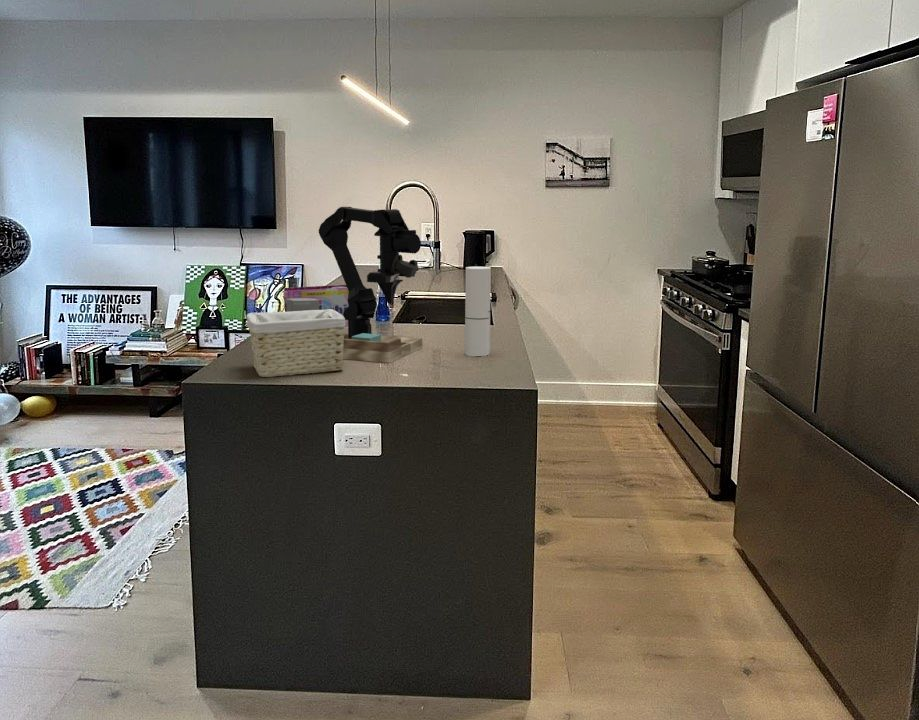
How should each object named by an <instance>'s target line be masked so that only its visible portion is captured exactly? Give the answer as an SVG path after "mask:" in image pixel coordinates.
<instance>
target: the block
mask: <svg viewBox="0 0 919 720" xmlns="http://www.w3.org/2000/svg"><path fill="white" fill-rule="evenodd" d="M381 335H382V334H377V333H371V334H367V333H362V334H359V335H355V336H352V339H354V340H366V341H378V342H381Z"/></svg>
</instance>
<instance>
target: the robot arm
mask: <svg viewBox="0 0 919 720" xmlns="http://www.w3.org/2000/svg"><path fill="white" fill-rule="evenodd" d="M352 221H354V222H360V223H365V224H366V223H367V224H371V225H372V226H373V227H375V228H378V229H377V231H376V232H374V235H373V236H375V237H379V254H378V255H377V256H376V257H377V259H378V260H379V268H377V271H371V272H369V273H367V275H366V282H367V283H374V284H375V283H376V284H378V287H379V288H380V290H381V292H382V294H383V296H384V298H385V300H386V302H387V304H389V305H390V304H391V305H392V304H393V301H394V298H395V294H396V291H397V288H398V286H399V285H400V284H401V283H402V282H403V281H404V279H400V277H405V278H407V279H409V278H410V279H411V278H412V277H413V278H415V277H416V272H419V265H418V261H417V260H415V259H411V260H410V261H405V260H404V259H403V256H402V254H400V253H404V254H417V253H418V252H419V251H420V249H421V247H422V240H421V239H420V235H418V234H417V230H415V229H409V227H408V225H407V224H406V222H405V220H404V218H403V216H402V214H401V212H400V210H399V209H397V208H389V209H388V208H387V209H375V210H372V209H364V208H357V207H352V206H340V207H338V208H337V209H336V210H335V211H334V213H332V214H330V215H329V216H328V217H327V218H325V219H324V221H323V222H321V223H320V225H319V227H318V234H319V237H320V240H322V242H323V244H324V245H325V246H326V247H327V248H329V250H331V251H332V253H333V256H334V259H335V261H336V264H337V266H338V268H339V271H340V274H341V275H342V279H343V281H344V283H345V285H346V286H347V288H348V291H349V293H348V299H347V301H348V305H349V306H348V307H347V309H346V310H345V311H344V312H343V316H344V318H345V320H348V326H347V332H348V333H347V334H348V338H349V339H352V336H355V335H359V334H362V333H367V334H372V323H371V319H374V317H375V314H376V310H377V306H378V303H377V297H376V296H375V294H374V289H373V288H372V287H370V288H367V287H366V286H364V284H363V281H362V279H361V277H360V274H359V272H358V269H357V266H356V264H355V261H354V260H353V257H352V254H351V252H350V249H349V248H348V239H349V234H348V231H349V230H350V228H351V226H352Z"/></svg>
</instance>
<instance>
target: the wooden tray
mask: <svg viewBox="0 0 919 720" xmlns="http://www.w3.org/2000/svg"><path fill="white" fill-rule="evenodd" d="M380 335H381V342H378V341H366V340H354V339H349V338H348V333H344V335H343V336H344V340H343V341H344V342H343V360H344V359H345V360H353V361H364V362H372V363H373V362H374V363H375V362H376V363H385V364H386V363H387V364H391V363H393V362H395V361H398V360H399V359H401V358H404V357H406V356H408V355H411V354H413V353H415V352H417V351H419V350H421V349H423V338H420V337H419V338H418V337H409V336H408V337H406V336H395V335H394V336H392V335H382V334H380Z"/></svg>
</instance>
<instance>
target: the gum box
mask: <svg viewBox="0 0 919 720" xmlns="http://www.w3.org/2000/svg"><path fill="white" fill-rule="evenodd" d="M348 293H349V291H348V288H347V286H346V284H336V285H335V284H334V285H318V286H317V285H316V286H296V287H295V286H294V287H284V288H283V294H282V295H283V305H284V312H287V308H286V299H291V298H314V299H317V300H319V310H327V309H333V310H334V311H337V312H338V313H340V314H341V315H342V316H343V312H344V311H345V310H346V309H347V307H348V306H349V305H348V301H347V299H348ZM343 317H344V316H343ZM345 327H348V320H345V326H344V328H345Z"/></svg>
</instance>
